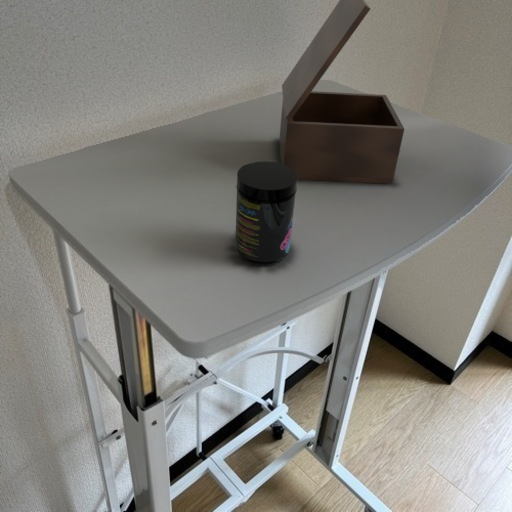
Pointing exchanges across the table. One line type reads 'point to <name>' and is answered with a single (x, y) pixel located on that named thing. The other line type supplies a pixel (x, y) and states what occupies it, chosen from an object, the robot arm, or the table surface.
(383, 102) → the chest
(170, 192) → the table surface
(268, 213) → the supplement container
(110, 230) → the table surface
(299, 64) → the lid
